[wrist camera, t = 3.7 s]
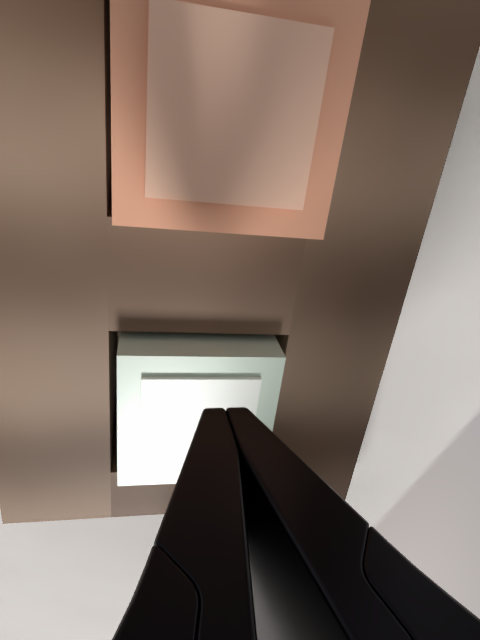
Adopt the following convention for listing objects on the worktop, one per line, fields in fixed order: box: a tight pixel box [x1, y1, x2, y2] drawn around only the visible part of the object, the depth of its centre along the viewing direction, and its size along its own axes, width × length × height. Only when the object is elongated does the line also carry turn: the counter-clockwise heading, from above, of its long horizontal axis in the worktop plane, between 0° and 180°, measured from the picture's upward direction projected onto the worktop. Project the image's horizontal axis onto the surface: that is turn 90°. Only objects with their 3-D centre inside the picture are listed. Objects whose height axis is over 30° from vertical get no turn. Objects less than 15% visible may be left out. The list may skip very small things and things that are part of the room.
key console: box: [0, 0, 480, 524], centre depth 15 cm, size 19×13×5 cm
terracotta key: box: [110, 0, 371, 240], centre depth 11 cm, size 5×5×4 cm
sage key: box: [117, 331, 286, 486], centre depth 16 cm, size 5×5×4 cm
